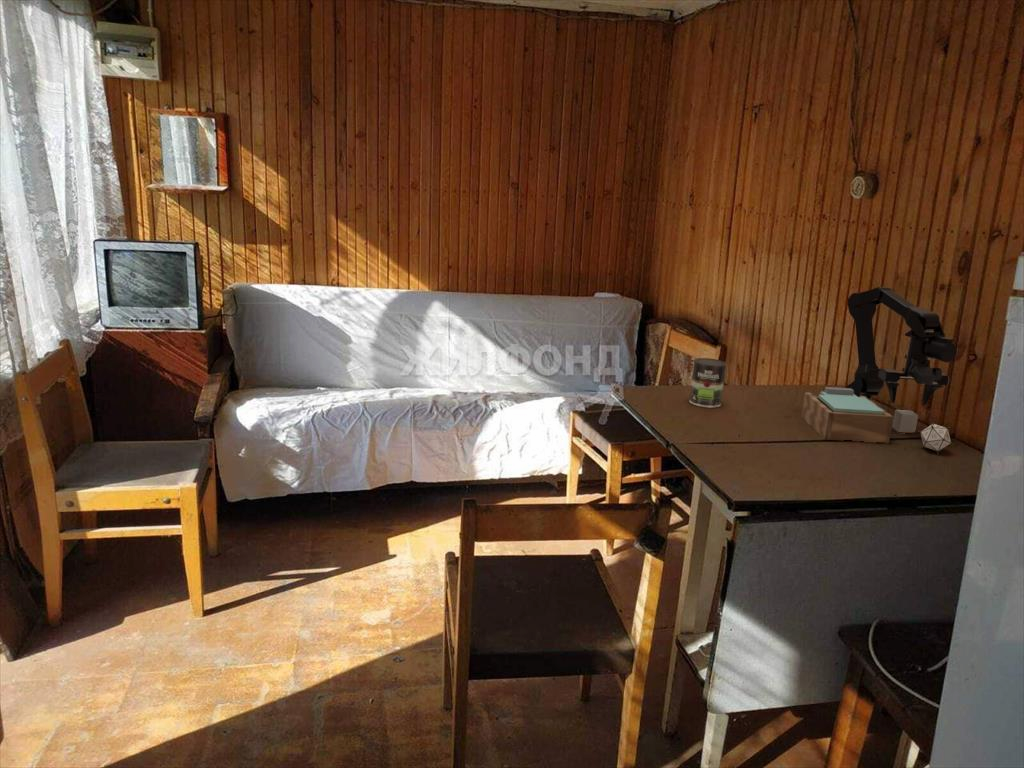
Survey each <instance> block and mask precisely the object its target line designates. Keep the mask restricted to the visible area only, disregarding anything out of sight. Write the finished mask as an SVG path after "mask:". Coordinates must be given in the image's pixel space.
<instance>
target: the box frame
mask: <svg viewBox="0 0 1024 768" xmlns="http://www.w3.org/2000/svg"><path fill="white" fill-rule="evenodd" d="M818 397H819V395H813V394H812V393H811V392H805V393H804V398H803V404H802V411H801V418H802V419H803V420H804V421H805V422H807V424H808V425H809V426H810V427H811V428H813V430H815V432H816V433H817V434H818V435H820V436H821V437H822V439H823V440H828V441H844V440H852V441H851V442H860V441H864V443H876V442H885V443H884V444H889V443H890V439H891V436H892V435H891V434H892V430H893V428H892V425H893V420H894V415H892V414H890V413H889V412H887V411H886V410H885V409H883V408H882V407H881V406H880V405H877V404H876V403H875V402H874V401H872V399H871V400H869V399H868V398H867V397H865V396H860V397H865V398H866V399H868V400H869V401H870V402H872V403H873V404H874V405H876V406H877V407H879V408H880V409H881V410H883V411H884V412H883V414H867V413H851V412H834V411H833V410H832V409H831V408H830V407H828V406H827V405H826V404H825V403H824V402H823V401H821V400H820V399H819V398H818Z"/></svg>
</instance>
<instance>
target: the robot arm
mask: <svg viewBox="0 0 1024 768" xmlns="http://www.w3.org/2000/svg"><path fill="white" fill-rule="evenodd" d="M881 304H883V305H885V306H886V307H887V308H889V310H891V311H893V312H894V313H896V314H897V315H899V316H901V317H902V319H903V320H904V322H905V324H906V325H907V327H909V329H910V330H909V331H907V332H905V333H904V337H908V338H909V344H908V349H907V354H904V359H906V360H905V364H904V367H902V370H901V371H902V372H899V371H897V370H896V369H894V368H885V367H884V368H880V367H879V366H878V365H877V361H876V351H875V338H874V328H873V318H874V317H875V314H876V312H877V306H878V305H879V306H880V305H881ZM847 309H848V312H849V314H850V316H851V318H853V320H854V322H855V332H856V333H855V335H856V345H857V358H858V366H857V368H856V370H855V372H854V380H853V381H852V382H851V383H850V384H848V385H847V386H845V388H851V389H853V390H854V394H855V395H856V396H857V397H860V396H865V397H867V398H868V399H869V400H871V401H872V396H876V397H877V396H878V395H879V394H880V392H881V390H882V388H884V385H885V384H886V387H887V390H888V394H889V397H890V402H891V403H892V404H895V402H896V399H897V391H898V387H899V386H900V382H898V381H900V380H911V381H913V380H914V382H915V383H916V384H918V385H922V384H923V386H924V387H923V393H922V401H921V405H923V406H926V404H927V403H928V401H929V400H930V399H931V396H932V395H933V394H934V393H935V392H936V391H937V390H938V389H941V388H943V387H944V386H949V385H950V384H949V383H950V377H949V375H947V374H945V373H943V369H942V368H941V367H931V359H933V360H937V361H940V362H943V363H950V362H951V361H953V360H954V358H955V357H956V356H957V347H956V345H955V344H954V339H953V338H950V337H946V335H945V332H944V330H943V327H942V324H941V321H940V315H938V313H936V312H934V311H931V310H929V309H926V308H922V307H919V306H916V305H915V304H913V303H911V302H910V301H908V300H907V299H906V298H904V297H902V296H900V295H899V294H898V293H896V292H895V291H893V290H892V288H890V287H888V286H876V287H874V288H871V289H869V290H865V291H862V292H853V293H852V294H850V296H849V297H848V298H847ZM929 358H930V359H929Z"/></svg>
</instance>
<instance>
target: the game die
mask: <svg viewBox="0 0 1024 768" xmlns="http://www.w3.org/2000/svg"><path fill="white" fill-rule="evenodd" d="M949 429H951V426H948V427H945V426H943V425H939V424H936V423H935V421H934V420H932V423H931V424H930V425H929V426H927V427H926V428H924V429H922V430H917V432H918V433H919V434H920V436H921V437H920V438H921V441H922V446H921V447H920V448H921V449H924V448H927V449H930V450H932V451H935V452H936V454H937V455H939V454H940V451H941V450H943V449H945V448H946V447H948V446H949V445H955V443H954V442H952V440H951V435H950V431H949Z"/></svg>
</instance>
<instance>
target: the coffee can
mask: <svg viewBox="0 0 1024 768" xmlns="http://www.w3.org/2000/svg"><path fill="white" fill-rule="evenodd" d="M727 364H728V363H727V362H725V361H723V360H720V359H715V358H707V357H701V358H700V357H698V358H695V359H694V360H693V370H692V377H691V385H690V392H689V393H690V394H689V400H688V402H689V403H690V404H691V405H694V406H697V407H700V408H707V409H708V408H709V409H711V408H712V409H713V408H719V407H721V406H722V398H723V390H724V384H725V383H724V382H725V375H726V367H727Z"/></svg>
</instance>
